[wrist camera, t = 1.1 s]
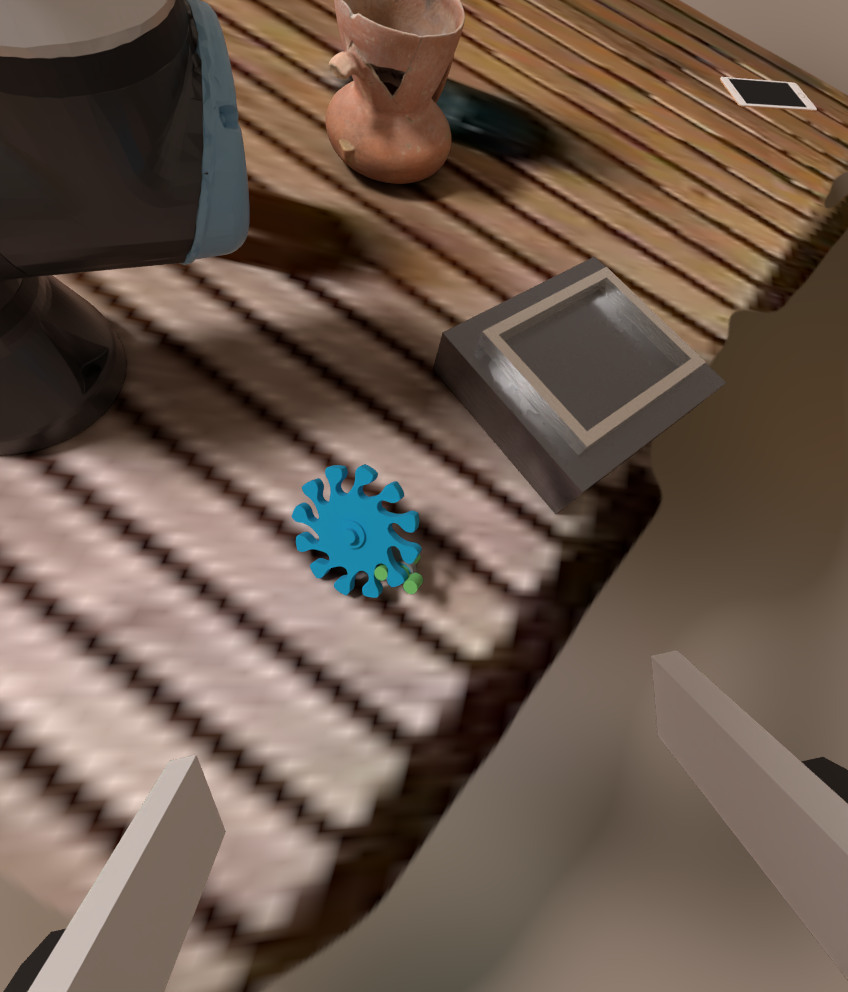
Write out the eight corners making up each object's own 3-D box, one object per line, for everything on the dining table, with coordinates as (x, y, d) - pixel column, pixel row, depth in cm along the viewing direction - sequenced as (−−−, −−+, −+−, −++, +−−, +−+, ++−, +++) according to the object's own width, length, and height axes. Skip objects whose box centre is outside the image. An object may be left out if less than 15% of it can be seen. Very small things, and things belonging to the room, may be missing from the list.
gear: (263, 528, 33) (341, 435, 29) (307, 506, 39) (378, 426, 35) (363, 637, 33) (456, 558, 29) (394, 600, 38) (475, 529, 34)
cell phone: (814, 113, 76) (818, 109, 75) (737, 109, 73) (740, 104, 72) (792, 86, 79) (795, 82, 78) (717, 81, 75) (719, 76, 75)
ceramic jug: (380, 221, 50) (394, 59, 37) (292, 149, 52) (276, -27, 39) (479, 166, 57) (520, 14, 44) (398, 105, 59) (414, -57, 46)
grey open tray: (433, 369, 43) (445, 319, 37) (572, 295, 50) (602, 243, 44) (555, 514, 39) (591, 484, 33) (689, 412, 46) (739, 372, 40)
